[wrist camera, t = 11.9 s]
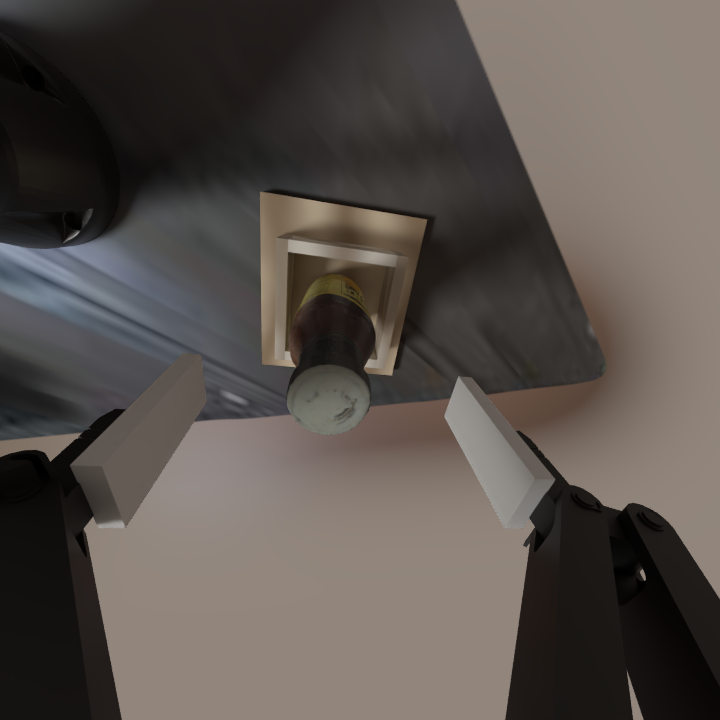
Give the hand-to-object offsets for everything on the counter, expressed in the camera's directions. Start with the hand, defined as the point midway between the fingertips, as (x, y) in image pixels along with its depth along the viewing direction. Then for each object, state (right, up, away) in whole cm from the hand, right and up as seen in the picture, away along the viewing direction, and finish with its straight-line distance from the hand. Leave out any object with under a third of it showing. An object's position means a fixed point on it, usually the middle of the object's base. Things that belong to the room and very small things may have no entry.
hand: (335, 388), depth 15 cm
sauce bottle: (-2, +8, +16) cm, 18 cm away
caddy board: (-1, +9, +17) cm, 19 cm away
